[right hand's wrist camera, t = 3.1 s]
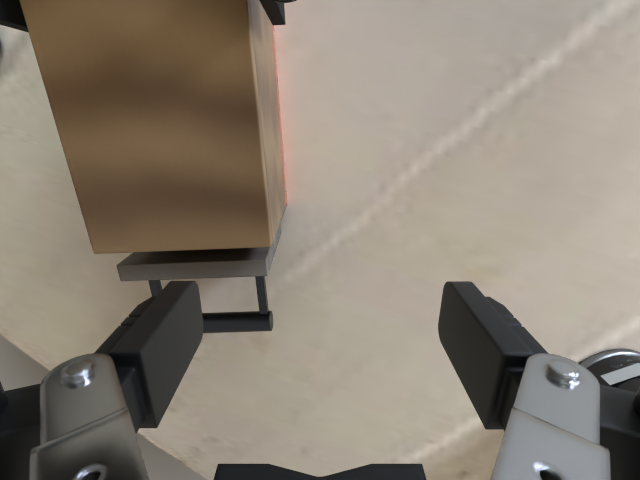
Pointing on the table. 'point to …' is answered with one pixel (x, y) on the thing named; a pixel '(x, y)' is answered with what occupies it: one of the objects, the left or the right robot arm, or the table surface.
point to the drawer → (209, 266)
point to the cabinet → (166, 119)
